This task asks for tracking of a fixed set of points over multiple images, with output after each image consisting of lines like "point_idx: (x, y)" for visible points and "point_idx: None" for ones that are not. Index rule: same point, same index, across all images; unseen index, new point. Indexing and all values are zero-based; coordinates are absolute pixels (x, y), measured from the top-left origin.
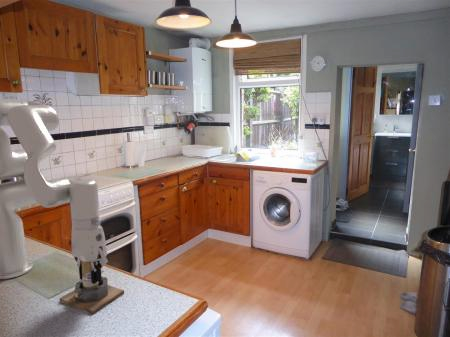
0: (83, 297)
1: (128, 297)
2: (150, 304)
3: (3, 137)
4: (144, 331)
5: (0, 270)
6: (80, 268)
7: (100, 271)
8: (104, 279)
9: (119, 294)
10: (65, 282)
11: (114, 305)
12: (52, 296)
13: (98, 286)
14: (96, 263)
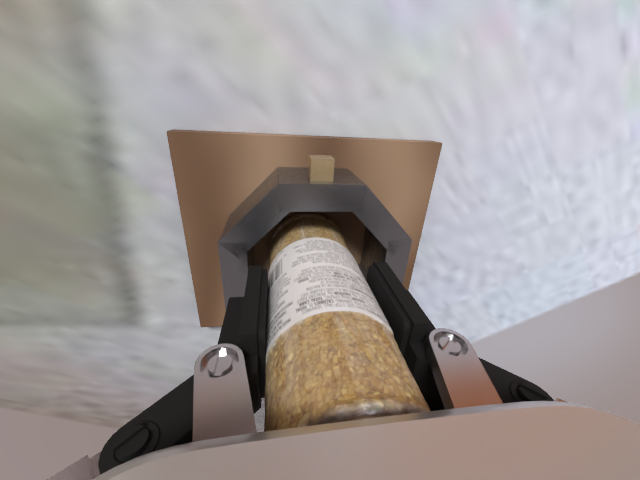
0: None
1: (471, 162)
2: (588, 163)
3: None
4: (595, 287)
5: None
6: (261, 397)
7: (430, 323)
8: (358, 206)
9: (431, 177)
10: (18, 201)
11: (440, 236)
12: (131, 310)
13: (341, 239)
14: (409, 371)
